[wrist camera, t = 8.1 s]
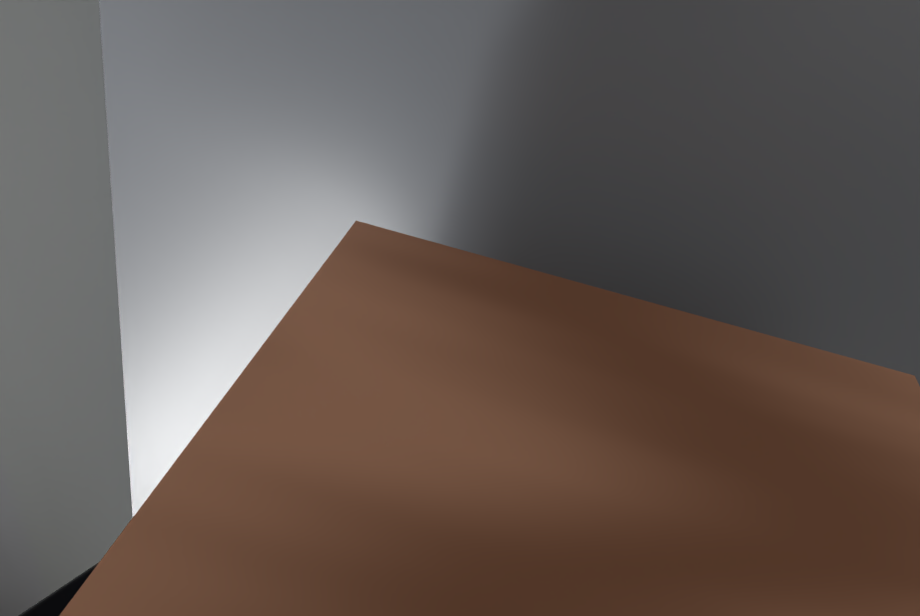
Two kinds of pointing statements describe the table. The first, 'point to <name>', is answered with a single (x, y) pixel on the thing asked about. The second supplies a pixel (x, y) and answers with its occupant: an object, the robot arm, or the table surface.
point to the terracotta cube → (526, 461)
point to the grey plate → (506, 166)
